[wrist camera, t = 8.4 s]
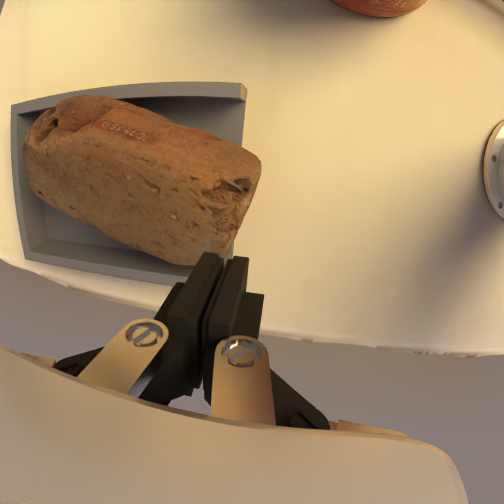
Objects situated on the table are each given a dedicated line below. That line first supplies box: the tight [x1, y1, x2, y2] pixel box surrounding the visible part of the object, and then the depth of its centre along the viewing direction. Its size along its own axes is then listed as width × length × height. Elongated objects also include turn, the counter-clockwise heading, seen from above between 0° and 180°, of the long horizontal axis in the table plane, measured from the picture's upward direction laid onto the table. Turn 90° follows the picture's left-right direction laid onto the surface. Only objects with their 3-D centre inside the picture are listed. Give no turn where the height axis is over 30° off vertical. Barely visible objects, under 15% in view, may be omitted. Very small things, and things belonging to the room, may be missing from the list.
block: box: [23, 95, 261, 266], centre depth 23 cm, size 11×8×20 cm
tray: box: [11, 82, 247, 286], centre depth 27 cm, size 25×18×4 cm
